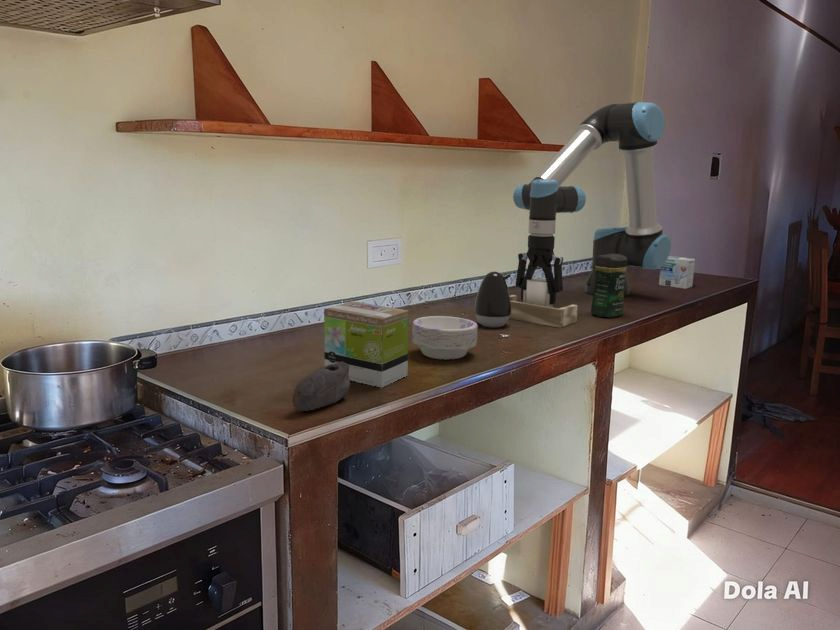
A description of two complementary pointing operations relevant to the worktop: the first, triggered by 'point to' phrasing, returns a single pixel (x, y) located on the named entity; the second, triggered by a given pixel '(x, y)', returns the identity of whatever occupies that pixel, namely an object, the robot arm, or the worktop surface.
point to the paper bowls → (444, 336)
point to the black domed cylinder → (493, 301)
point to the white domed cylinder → (536, 291)
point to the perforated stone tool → (322, 387)
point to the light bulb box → (677, 272)
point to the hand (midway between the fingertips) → (537, 313)
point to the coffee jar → (609, 285)
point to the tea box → (367, 341)
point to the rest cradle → (543, 313)
